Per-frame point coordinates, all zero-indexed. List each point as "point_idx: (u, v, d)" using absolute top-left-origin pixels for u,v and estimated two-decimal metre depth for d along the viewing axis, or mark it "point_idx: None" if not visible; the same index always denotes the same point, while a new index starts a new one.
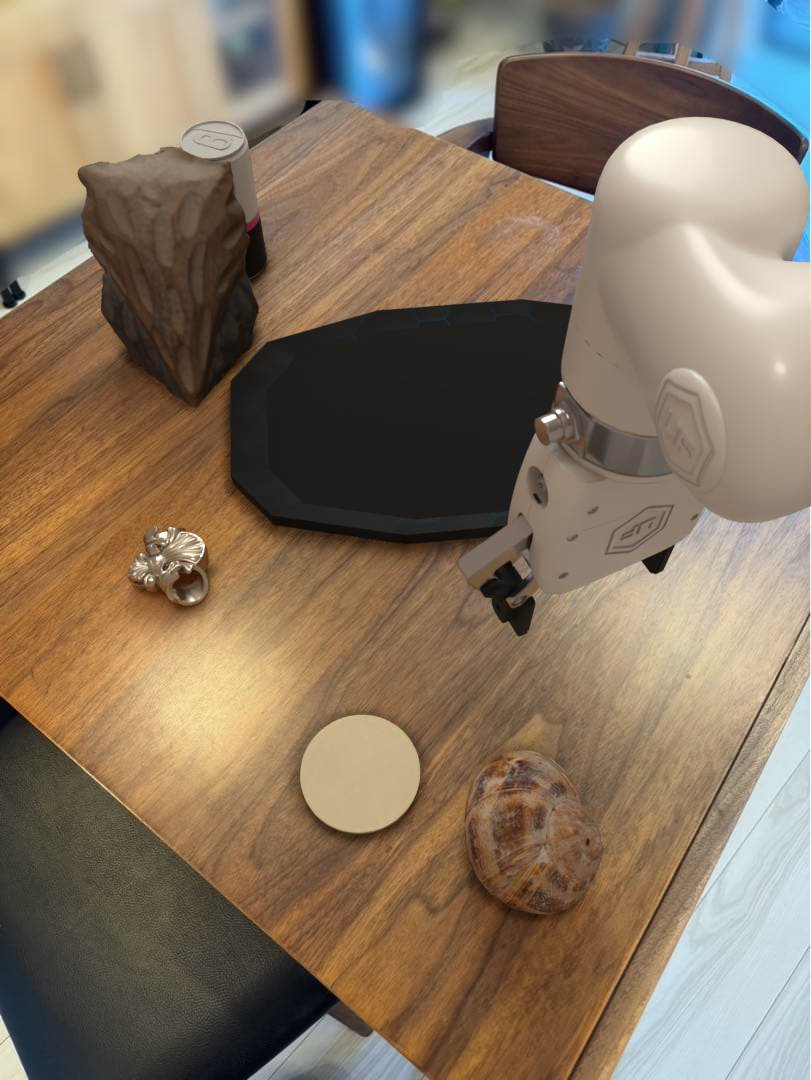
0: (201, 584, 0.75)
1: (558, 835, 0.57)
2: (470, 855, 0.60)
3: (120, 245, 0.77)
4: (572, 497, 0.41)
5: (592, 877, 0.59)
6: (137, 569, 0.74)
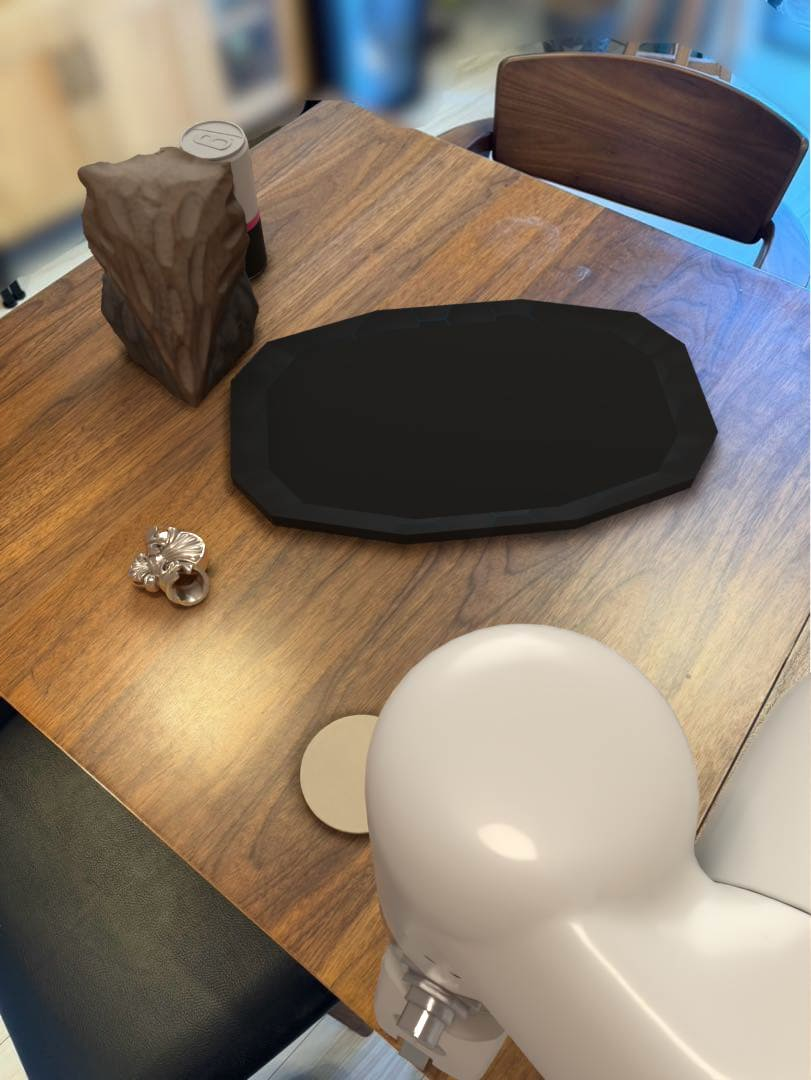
0: (202, 584, 0.75)
1: None
2: None
3: (120, 245, 0.77)
4: (481, 1052, 0.29)
5: None
6: (137, 569, 0.74)
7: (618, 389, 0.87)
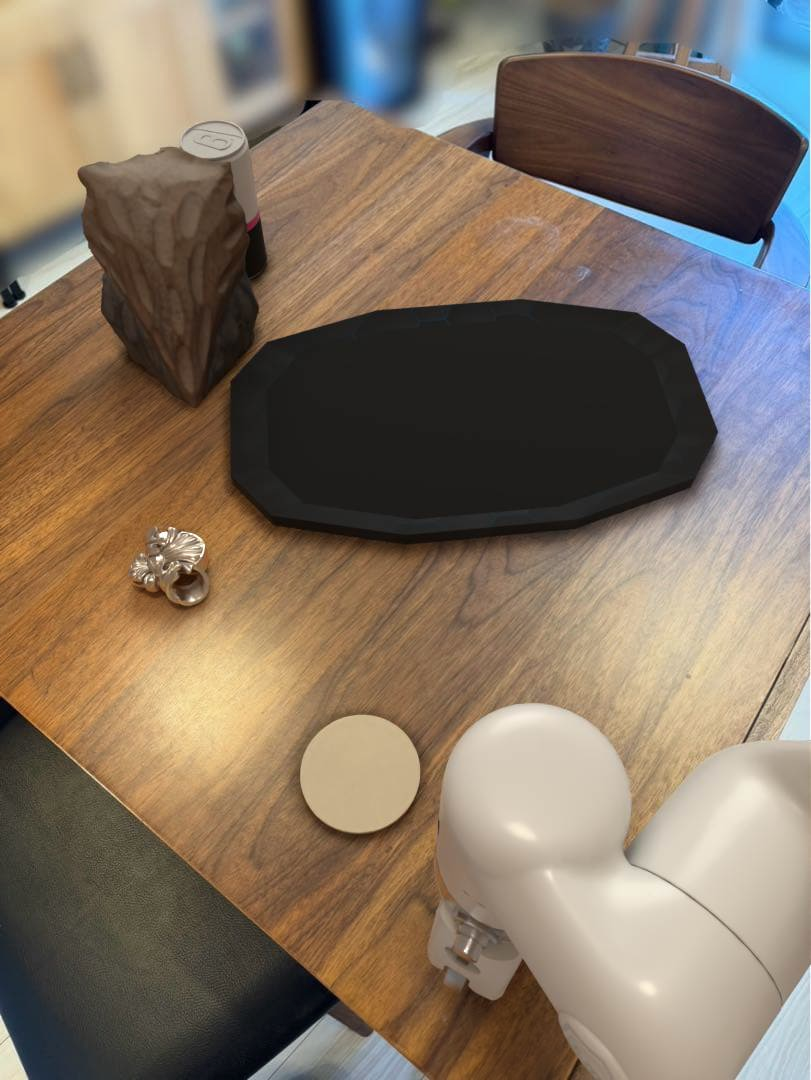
0: (202, 584, 0.75)
1: None
2: None
3: (120, 245, 0.77)
4: (504, 969, 0.44)
5: None
6: (137, 569, 0.74)
7: (618, 389, 0.87)
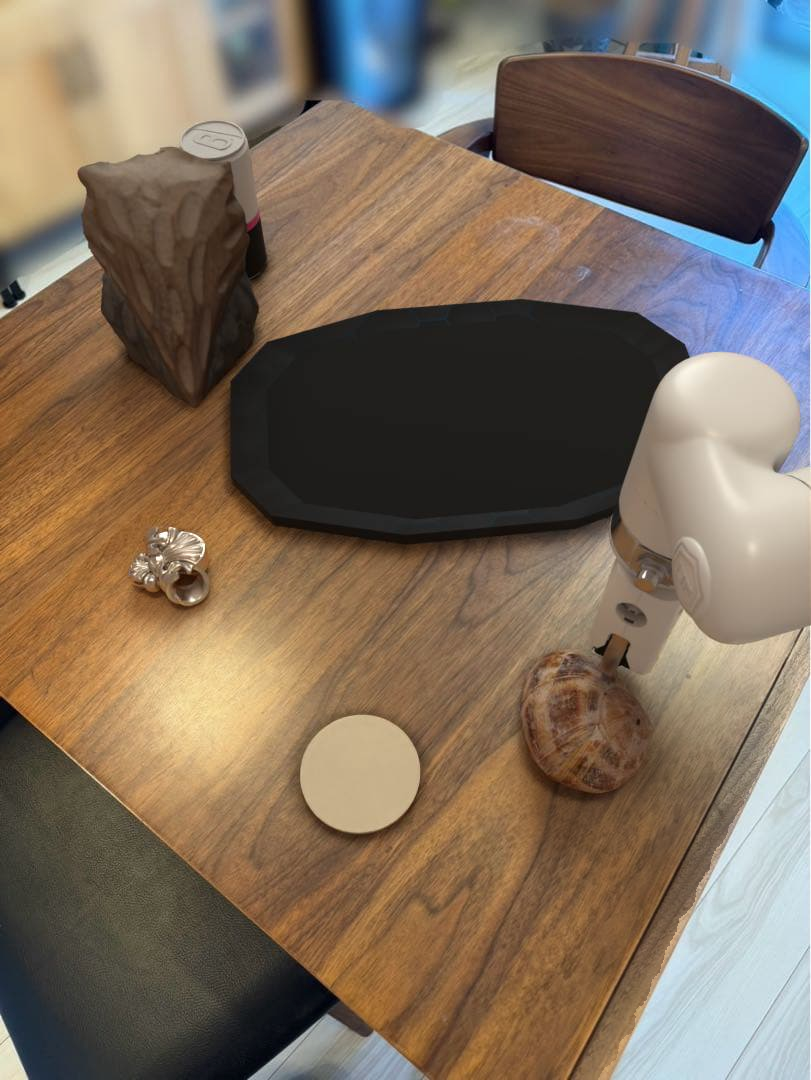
0: (202, 584, 0.75)
1: (610, 715, 0.62)
2: (527, 738, 0.64)
3: (120, 245, 0.77)
4: (669, 612, 0.55)
5: (641, 757, 0.63)
6: (137, 569, 0.74)
7: (618, 389, 0.87)
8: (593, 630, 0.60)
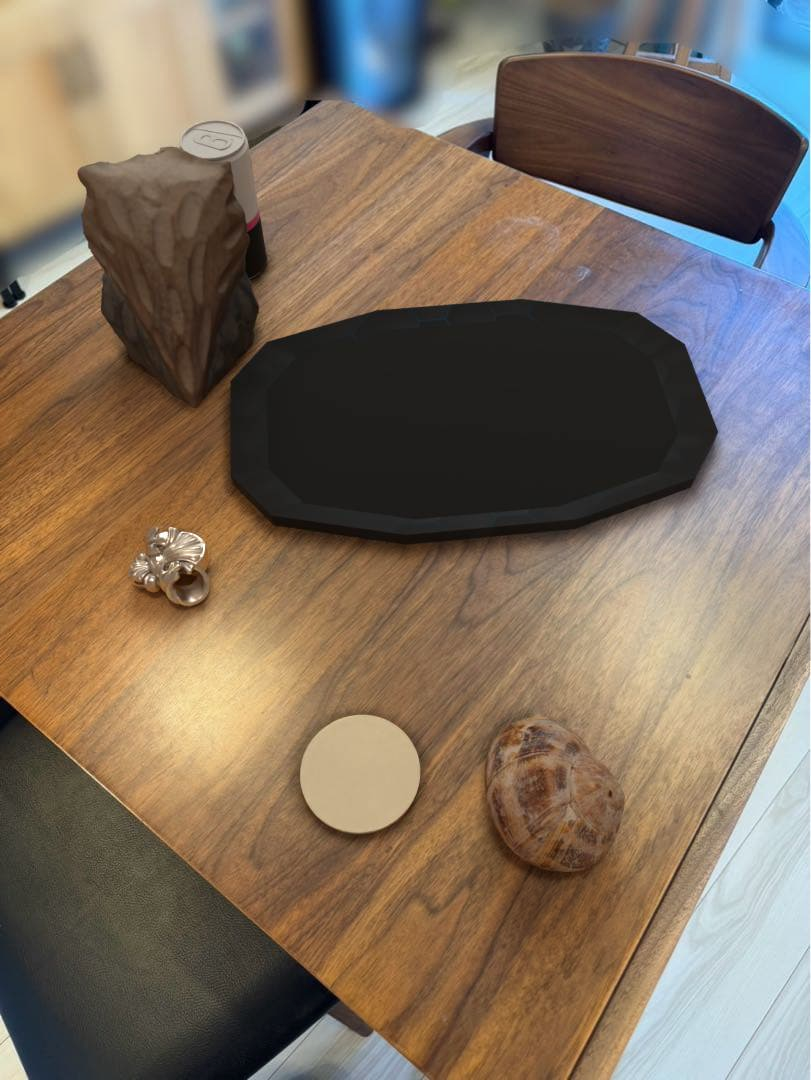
0: (202, 584, 0.75)
1: (581, 791, 0.59)
2: (498, 825, 0.61)
3: (120, 245, 0.77)
4: None
5: (617, 827, 0.61)
6: (137, 569, 0.74)
7: (618, 389, 0.87)
8: None
